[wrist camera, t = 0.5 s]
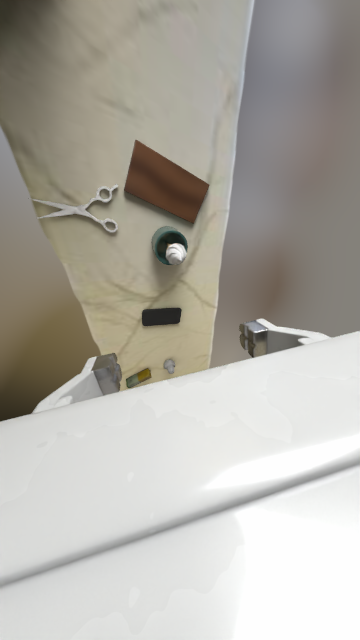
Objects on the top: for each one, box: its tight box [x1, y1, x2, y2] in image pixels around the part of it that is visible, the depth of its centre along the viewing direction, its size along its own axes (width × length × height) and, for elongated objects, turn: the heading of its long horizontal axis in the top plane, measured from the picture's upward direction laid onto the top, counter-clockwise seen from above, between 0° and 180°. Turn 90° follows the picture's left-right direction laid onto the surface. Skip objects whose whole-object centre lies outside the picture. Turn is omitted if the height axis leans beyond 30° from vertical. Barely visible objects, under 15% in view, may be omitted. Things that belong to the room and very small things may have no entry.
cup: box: [152, 226, 188, 265], centre depth 55 cm, size 10×10×6 cm
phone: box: [142, 308, 181, 326], centre depth 72 cm, size 7×1×15 cm
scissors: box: [31, 184, 118, 232], centre depth 46 cm, size 11×1×20 cm
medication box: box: [126, 369, 151, 388], centre depth 88 cm, size 12×3×4 cm, turn 113°
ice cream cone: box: [166, 243, 186, 265], centre depth 51 cm, size 6×6×15 cm
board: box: [124, 140, 209, 223], centre depth 48 cm, size 10×20×1 cm, turn 66°
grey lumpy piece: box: [164, 360, 175, 374], centre depth 87 cm, size 5×7×8 cm
